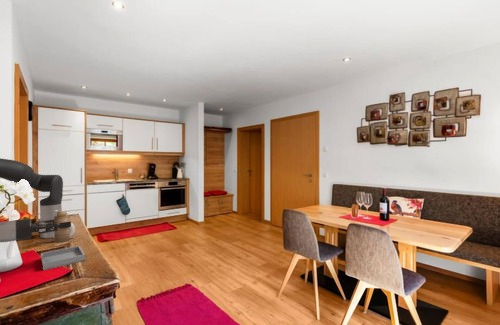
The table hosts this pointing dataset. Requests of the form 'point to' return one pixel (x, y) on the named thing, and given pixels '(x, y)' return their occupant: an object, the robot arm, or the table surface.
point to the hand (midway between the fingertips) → (69, 222)
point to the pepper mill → (62, 233)
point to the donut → (72, 230)
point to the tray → (62, 257)
